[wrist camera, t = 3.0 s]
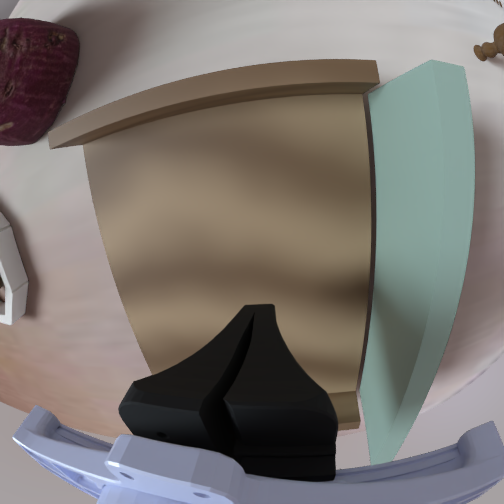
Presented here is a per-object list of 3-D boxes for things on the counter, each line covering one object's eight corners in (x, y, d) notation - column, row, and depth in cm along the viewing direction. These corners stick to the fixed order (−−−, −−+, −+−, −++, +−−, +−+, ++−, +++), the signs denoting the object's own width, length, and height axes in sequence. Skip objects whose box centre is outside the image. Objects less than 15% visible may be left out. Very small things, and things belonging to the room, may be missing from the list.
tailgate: (374, 388, 18) (389, 464, 12) (359, 390, 18) (371, 468, 12) (389, 95, 11) (464, 66, 5) (367, 94, 11) (431, 59, 5)
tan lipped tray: (352, 387, 20) (358, 428, 16) (167, 385, 23) (150, 420, 19) (354, 80, 12) (375, 60, 8) (92, 129, 15) (47, 132, 11)
